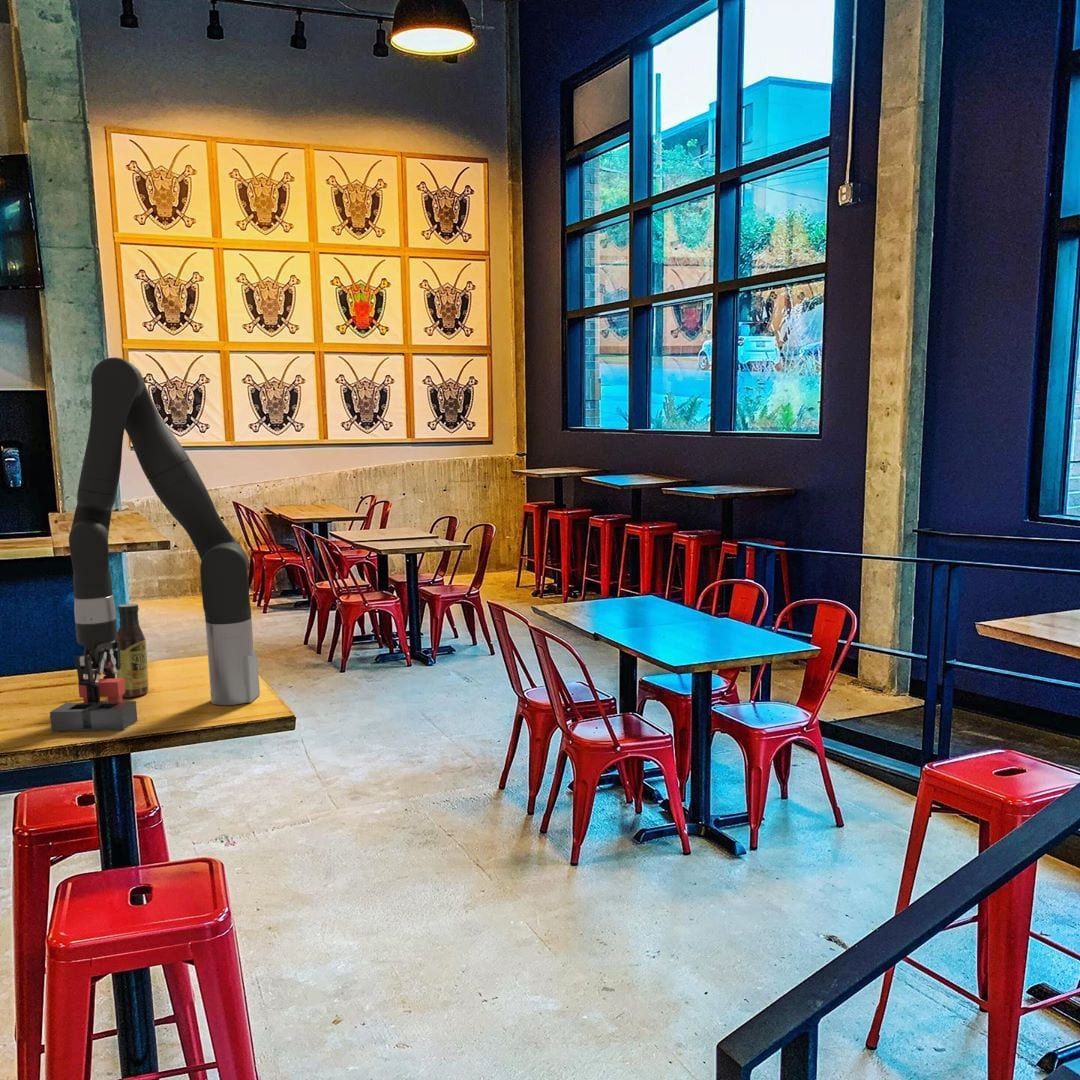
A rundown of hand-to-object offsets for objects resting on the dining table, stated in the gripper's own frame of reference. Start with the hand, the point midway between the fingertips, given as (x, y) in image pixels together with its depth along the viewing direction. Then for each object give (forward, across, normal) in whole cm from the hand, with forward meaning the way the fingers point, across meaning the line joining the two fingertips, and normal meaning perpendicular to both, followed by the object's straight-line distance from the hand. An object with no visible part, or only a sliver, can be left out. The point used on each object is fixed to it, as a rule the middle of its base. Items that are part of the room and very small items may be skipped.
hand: (102, 698), depth 192 cm
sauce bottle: (+4, +14, 0) cm, 14 cm away
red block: (+3, 0, 0) cm, 3 cm away
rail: (+3, -8, -2) cm, 9 cm away
